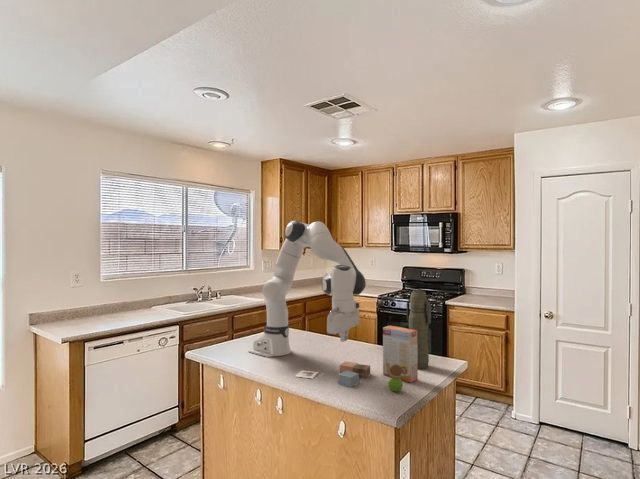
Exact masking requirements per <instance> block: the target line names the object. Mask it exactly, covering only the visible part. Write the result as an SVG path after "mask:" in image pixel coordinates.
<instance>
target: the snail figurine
mask: <svg viewBox="0 0 640 479" xmlns="http://www.w3.org/2000/svg"><path fill="white" fill-rule="evenodd" d="M389 365H390V364H389V363H388V362H387V359H386V366H387V371H388V373H389V375H390V376H391V377H390V379H389V381H388V388H389V390H390V391H392V392H394V393H398V392H400V391H401V390H402V389H403V385H404V384H403V380H401V379H400V377H402V375H400V374H401V373H402V368H401V367H400V366H399V365H397V364H395V365H393V366H391V368H390V367H389Z"/></svg>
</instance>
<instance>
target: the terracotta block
mask: <svg viewBox="0 0 640 479" xmlns="http://www.w3.org/2000/svg"><path fill="white" fill-rule="evenodd" d="M356 364H359V363H358V362H354V361H353V362H352V361H344V362H342V363H341V364H340V365H339V374H340V373H342V372H345V371H351V372H353V367H354V366H355V365H356Z"/></svg>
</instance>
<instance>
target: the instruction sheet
mask: <svg viewBox="0 0 640 479" xmlns="http://www.w3.org/2000/svg"><path fill="white" fill-rule="evenodd" d="M318 374H319V372H318V371H311V370H301V369H300V371H299V372H298V373H297V374H296V375H295V376H294V378H300V377H302V379H308V378H310V379H309V380H313V379H314V378H315V377H316V376H317V375H318Z"/></svg>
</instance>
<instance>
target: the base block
mask: <svg viewBox="0 0 640 479" xmlns="http://www.w3.org/2000/svg"><path fill="white" fill-rule="evenodd" d="M353 372H355V373H359V379H365V380H366V379H368V378H369V377H370V375H371V365H369V364H361V363H358V364H356V365H355V366H354V367H353Z"/></svg>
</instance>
